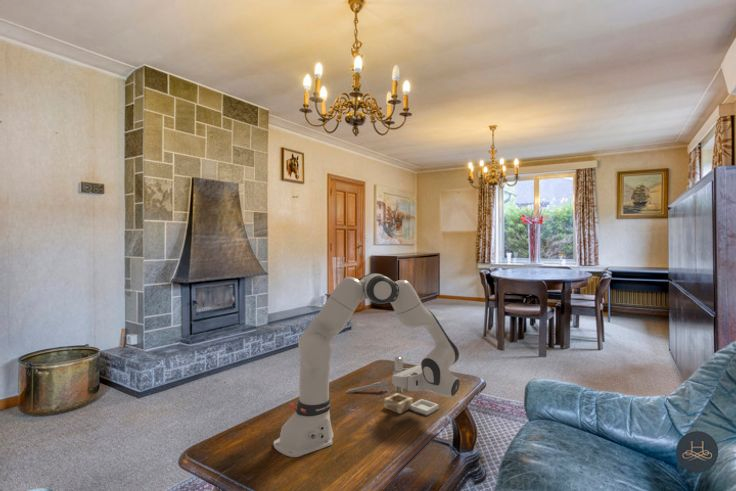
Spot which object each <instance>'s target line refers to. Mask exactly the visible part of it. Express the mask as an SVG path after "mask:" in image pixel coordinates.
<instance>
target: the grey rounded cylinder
mask: <svg viewBox="0 0 736 491" xmlns="http://www.w3.org/2000/svg"><path fill="white" fill-rule="evenodd" d="M403 368H404V357H402V356H394V371H398V373H400V372H402V371H403ZM394 392H395V394H396V393H399V394H402V393H404V388H401V387H398V386H395V385H394Z"/></svg>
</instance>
